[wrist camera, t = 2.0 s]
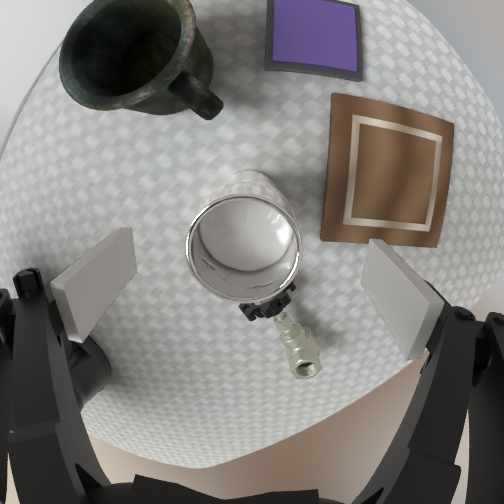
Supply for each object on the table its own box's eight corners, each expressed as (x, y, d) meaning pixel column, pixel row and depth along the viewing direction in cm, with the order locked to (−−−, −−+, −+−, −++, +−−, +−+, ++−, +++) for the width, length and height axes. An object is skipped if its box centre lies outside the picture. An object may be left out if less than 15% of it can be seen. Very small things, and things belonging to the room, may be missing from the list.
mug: (167, 14, 21) (127, -35, 10) (264, 84, 25) (270, 47, 14) (104, 85, 24) (38, 69, 13) (192, 159, 28) (152, 171, 17)
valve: (327, 334, 36) (288, 266, 32) (338, 368, 30) (295, 295, 26) (284, 354, 37) (240, 291, 34) (288, 388, 31) (236, 323, 28)
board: (319, 238, 31) (322, 241, 30) (331, 94, 25) (334, 92, 24) (432, 245, 31) (437, 248, 30) (449, 123, 25) (455, 123, 24)
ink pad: (264, 69, 24) (265, 66, 22) (267, -4, 20) (268, -11, 19) (358, 81, 24) (363, 79, 22) (355, 9, 20) (360, 3, 19)
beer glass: (263, 240, 31) (269, 322, 17) (206, 213, 30) (164, 277, 16) (294, 184, 29) (330, 227, 15) (234, 155, 27) (211, 167, 14)
